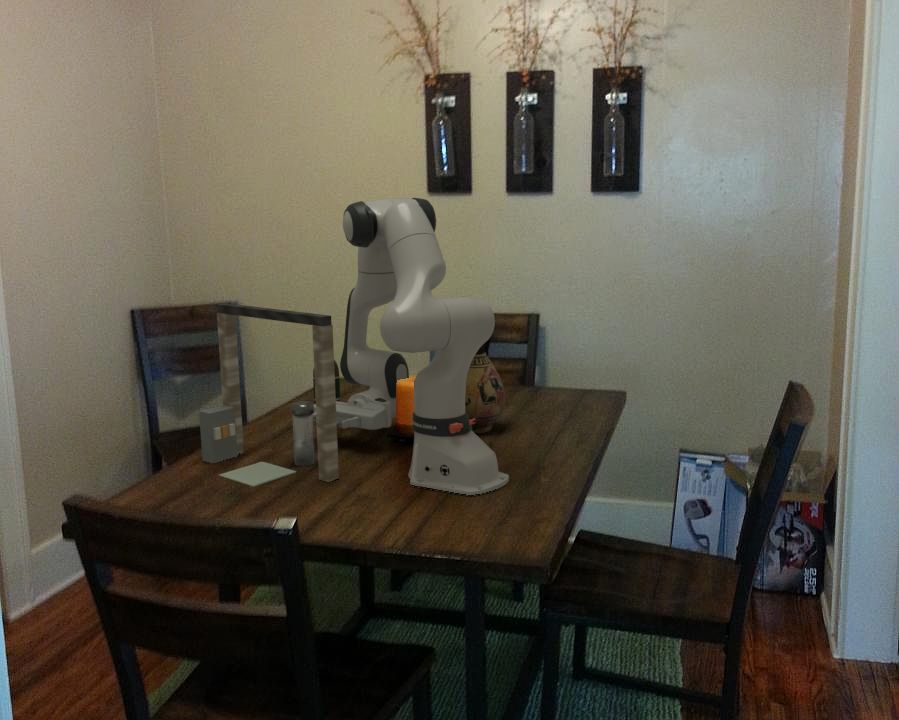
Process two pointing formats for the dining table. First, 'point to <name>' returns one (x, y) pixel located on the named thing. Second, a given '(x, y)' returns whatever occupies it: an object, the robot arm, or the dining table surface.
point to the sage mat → (257, 474)
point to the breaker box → (218, 433)
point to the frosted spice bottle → (303, 432)
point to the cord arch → (321, 372)
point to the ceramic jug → (483, 391)
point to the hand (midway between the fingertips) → (326, 422)
